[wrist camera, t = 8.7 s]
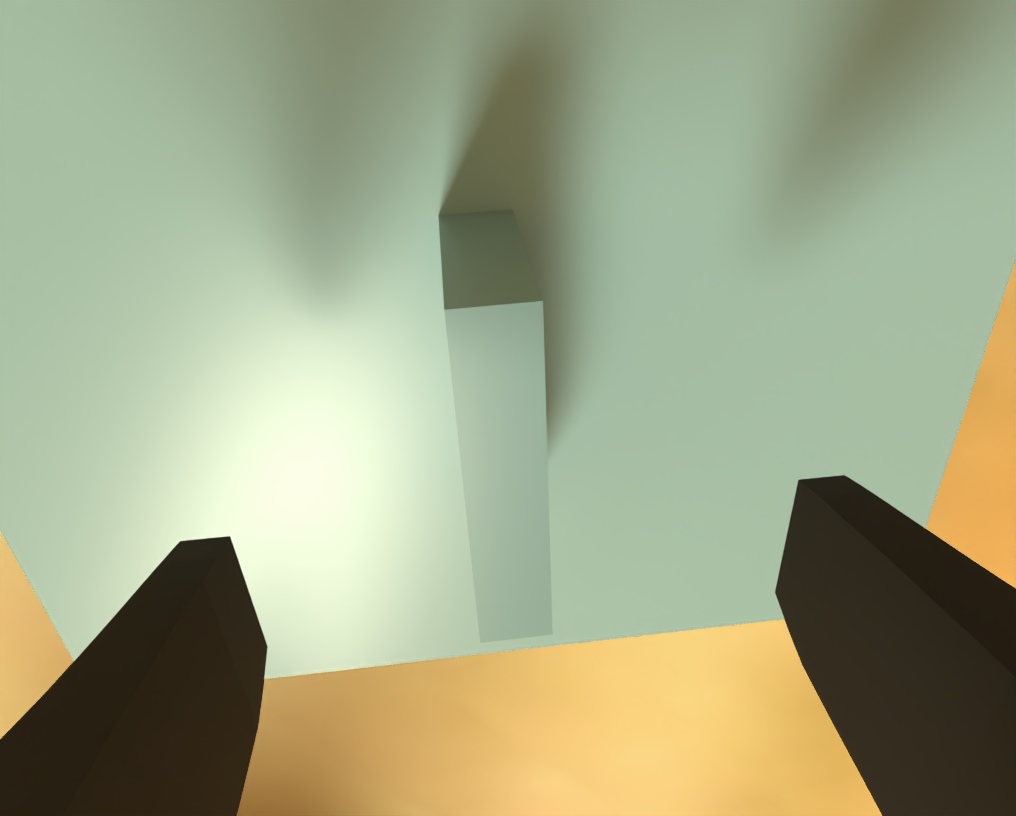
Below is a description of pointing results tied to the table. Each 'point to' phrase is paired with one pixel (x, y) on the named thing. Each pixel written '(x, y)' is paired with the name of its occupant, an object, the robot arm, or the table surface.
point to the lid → (484, 300)
